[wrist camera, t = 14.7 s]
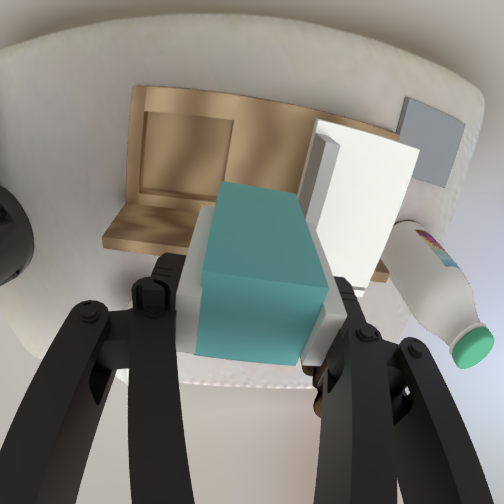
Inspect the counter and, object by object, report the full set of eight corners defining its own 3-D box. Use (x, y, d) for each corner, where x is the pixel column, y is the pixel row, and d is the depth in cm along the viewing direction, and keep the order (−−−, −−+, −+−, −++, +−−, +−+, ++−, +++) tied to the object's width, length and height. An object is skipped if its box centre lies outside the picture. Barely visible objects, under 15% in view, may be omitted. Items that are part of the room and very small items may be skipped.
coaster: (385, 168, 34) (388, 170, 33) (405, 97, 29) (409, 98, 28) (440, 185, 35) (444, 188, 34) (460, 122, 30) (465, 123, 29)
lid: (267, 243, 35) (278, 311, 26) (298, 107, 28) (329, 127, 18) (341, 253, 37) (371, 317, 27) (381, 129, 29) (439, 161, 19)
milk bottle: (381, 275, 42) (442, 390, 25) (371, 232, 38) (445, 351, 22) (427, 254, 41) (500, 357, 24) (421, 210, 37) (513, 311, 20)
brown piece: (131, 205, 35) (103, 247, 27) (138, 85, 28) (103, 92, 20) (357, 236, 39) (385, 282, 31) (392, 131, 31) (437, 154, 23)
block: (211, 245, 18) (193, 354, 11) (220, 180, 16) (202, 270, 9) (278, 256, 19) (295, 365, 12) (295, 193, 17) (329, 288, 10)
